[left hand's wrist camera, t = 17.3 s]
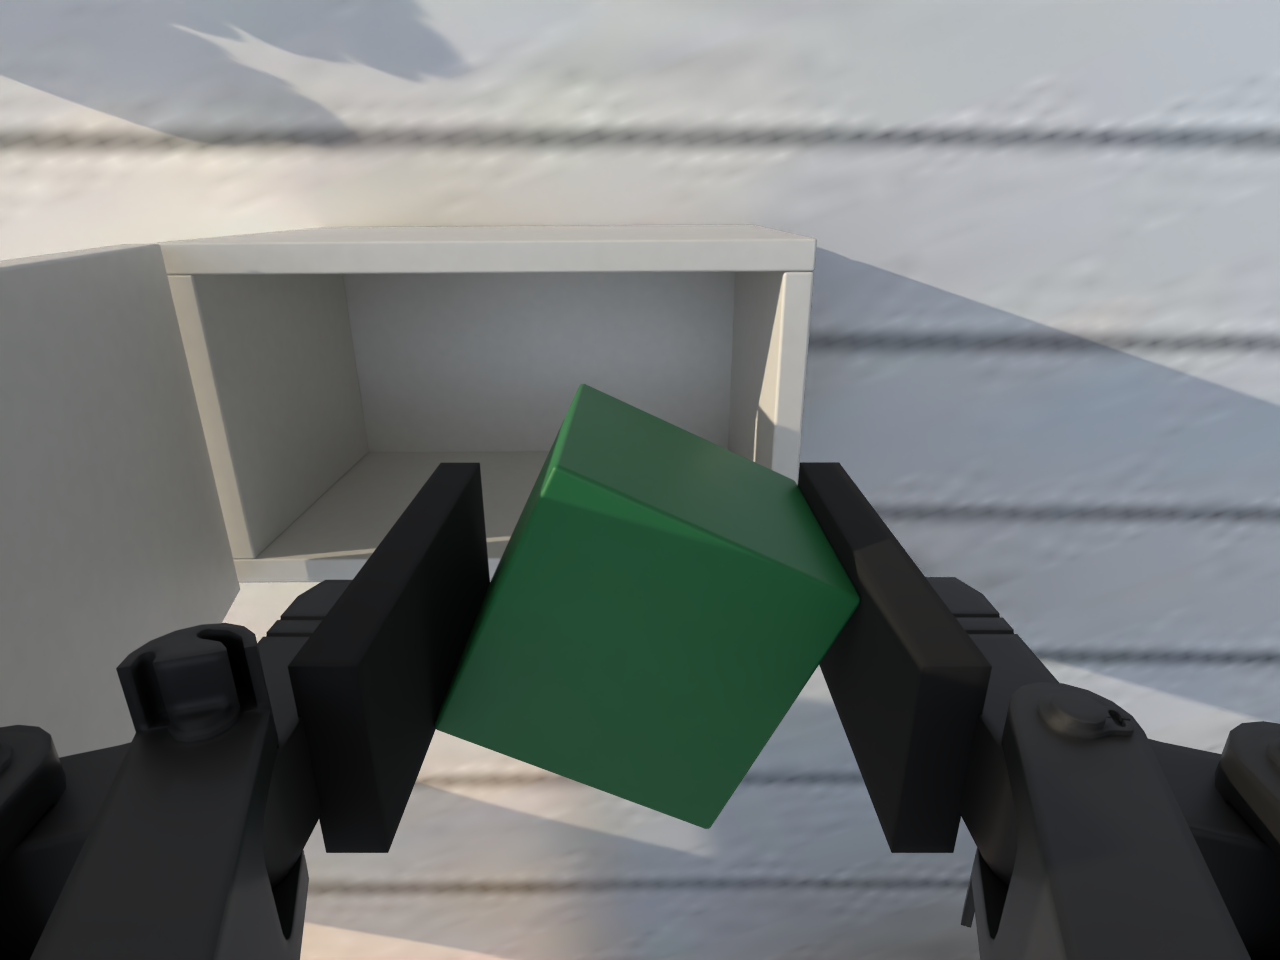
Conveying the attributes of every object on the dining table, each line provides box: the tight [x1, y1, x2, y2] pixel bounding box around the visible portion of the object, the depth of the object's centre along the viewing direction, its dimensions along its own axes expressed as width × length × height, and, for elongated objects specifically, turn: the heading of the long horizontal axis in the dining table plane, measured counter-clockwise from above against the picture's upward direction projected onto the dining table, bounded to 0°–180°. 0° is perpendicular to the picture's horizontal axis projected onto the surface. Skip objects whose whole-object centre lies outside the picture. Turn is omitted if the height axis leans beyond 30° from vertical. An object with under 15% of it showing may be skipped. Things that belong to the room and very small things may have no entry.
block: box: [435, 384, 860, 829], centre depth 13 cm, size 5×5×5 cm
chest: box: [156, 225, 817, 582], centre depth 26 cm, size 17×10×11 cm, turn 90°
